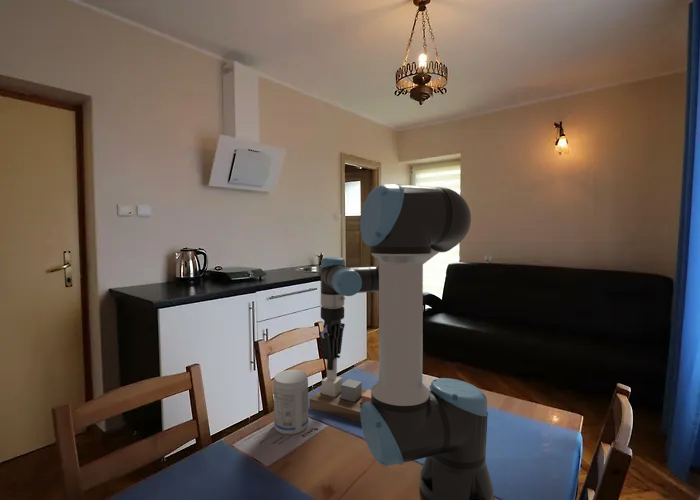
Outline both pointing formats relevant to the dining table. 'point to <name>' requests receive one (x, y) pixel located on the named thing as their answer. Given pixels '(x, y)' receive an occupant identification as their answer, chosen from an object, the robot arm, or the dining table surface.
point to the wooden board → (337, 405)
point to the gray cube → (351, 390)
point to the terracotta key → (366, 397)
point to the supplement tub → (290, 401)
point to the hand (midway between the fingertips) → (331, 378)
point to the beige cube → (331, 386)
